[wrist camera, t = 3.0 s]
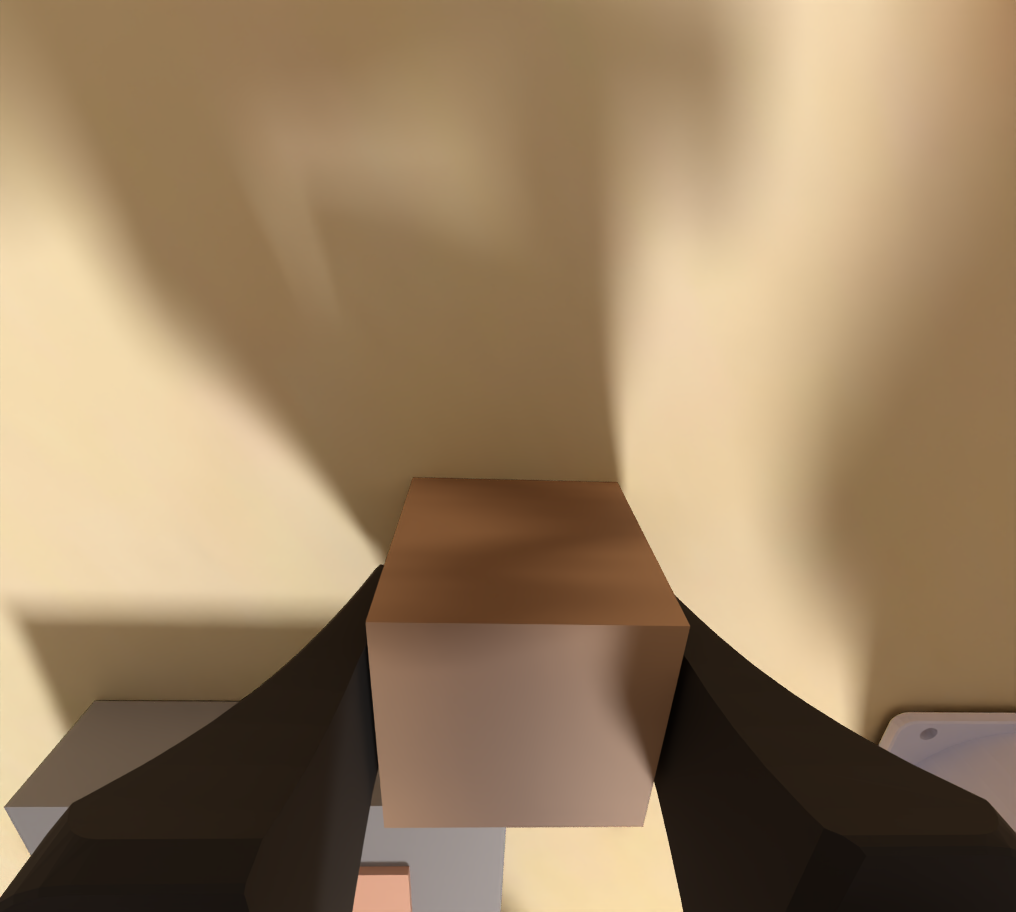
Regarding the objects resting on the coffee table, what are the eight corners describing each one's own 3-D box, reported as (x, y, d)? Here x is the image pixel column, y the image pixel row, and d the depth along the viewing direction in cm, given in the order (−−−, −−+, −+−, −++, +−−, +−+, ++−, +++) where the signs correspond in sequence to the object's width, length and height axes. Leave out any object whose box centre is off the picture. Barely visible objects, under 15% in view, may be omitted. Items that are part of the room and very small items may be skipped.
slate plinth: (504, 703, 15) (507, 814, 12) (493, 921, 20) (493, 1038, 17) (94, 701, 15) (-4, 815, 12) (182, 924, 20) (128, 1046, 17)
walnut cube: (617, 482, 12) (689, 625, 8) (595, 639, 14) (642, 826, 10) (413, 477, 12) (365, 621, 8) (418, 637, 14) (384, 828, 10)
